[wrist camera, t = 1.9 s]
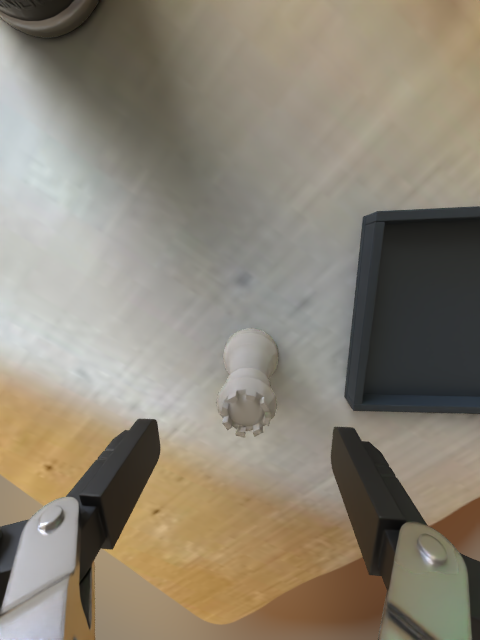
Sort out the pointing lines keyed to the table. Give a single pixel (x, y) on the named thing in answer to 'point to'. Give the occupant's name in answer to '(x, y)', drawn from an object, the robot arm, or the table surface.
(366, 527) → the robot arm
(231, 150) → the table surface
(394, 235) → the tray
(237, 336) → the rook chess piece
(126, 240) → the table surface
